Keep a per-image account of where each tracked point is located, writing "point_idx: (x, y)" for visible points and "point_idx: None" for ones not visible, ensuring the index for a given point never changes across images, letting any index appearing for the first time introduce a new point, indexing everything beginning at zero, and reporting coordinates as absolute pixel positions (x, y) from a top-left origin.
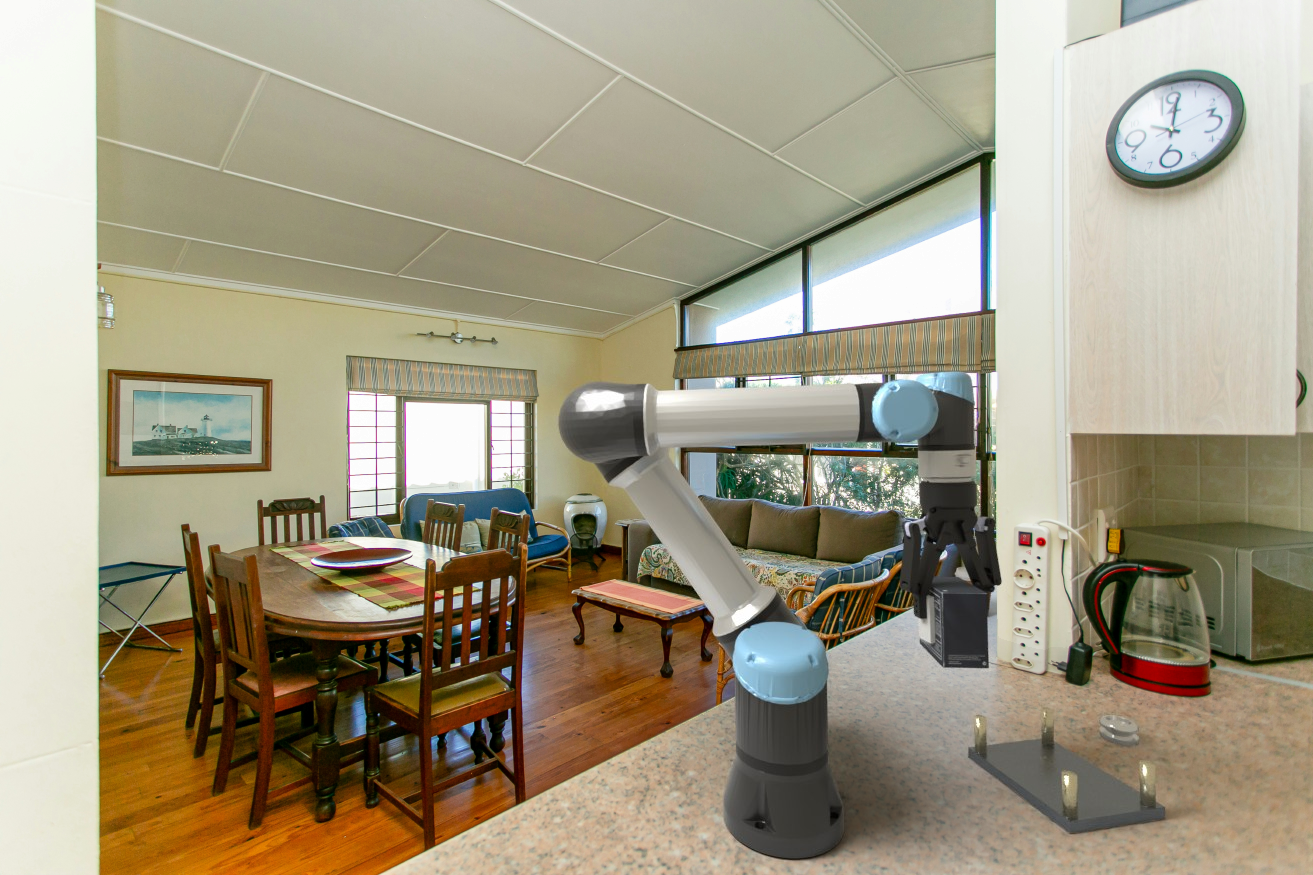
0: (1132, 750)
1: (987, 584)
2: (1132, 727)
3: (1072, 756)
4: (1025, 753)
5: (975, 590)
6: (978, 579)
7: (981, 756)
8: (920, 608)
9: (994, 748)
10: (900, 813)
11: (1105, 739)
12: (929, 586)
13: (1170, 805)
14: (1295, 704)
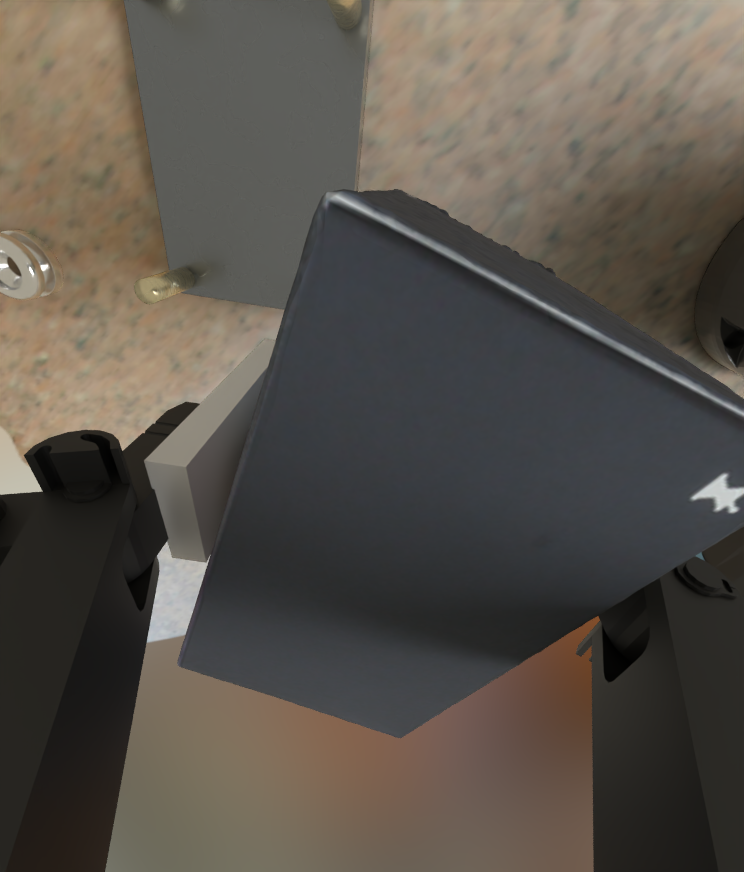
0: (33, 218)
1: (71, 502)
2: None
3: (174, 215)
4: (256, 259)
5: (373, 370)
6: (118, 568)
7: None
8: None
9: None
10: (617, 204)
11: (61, 268)
12: (679, 621)
13: (86, 3)
14: None
